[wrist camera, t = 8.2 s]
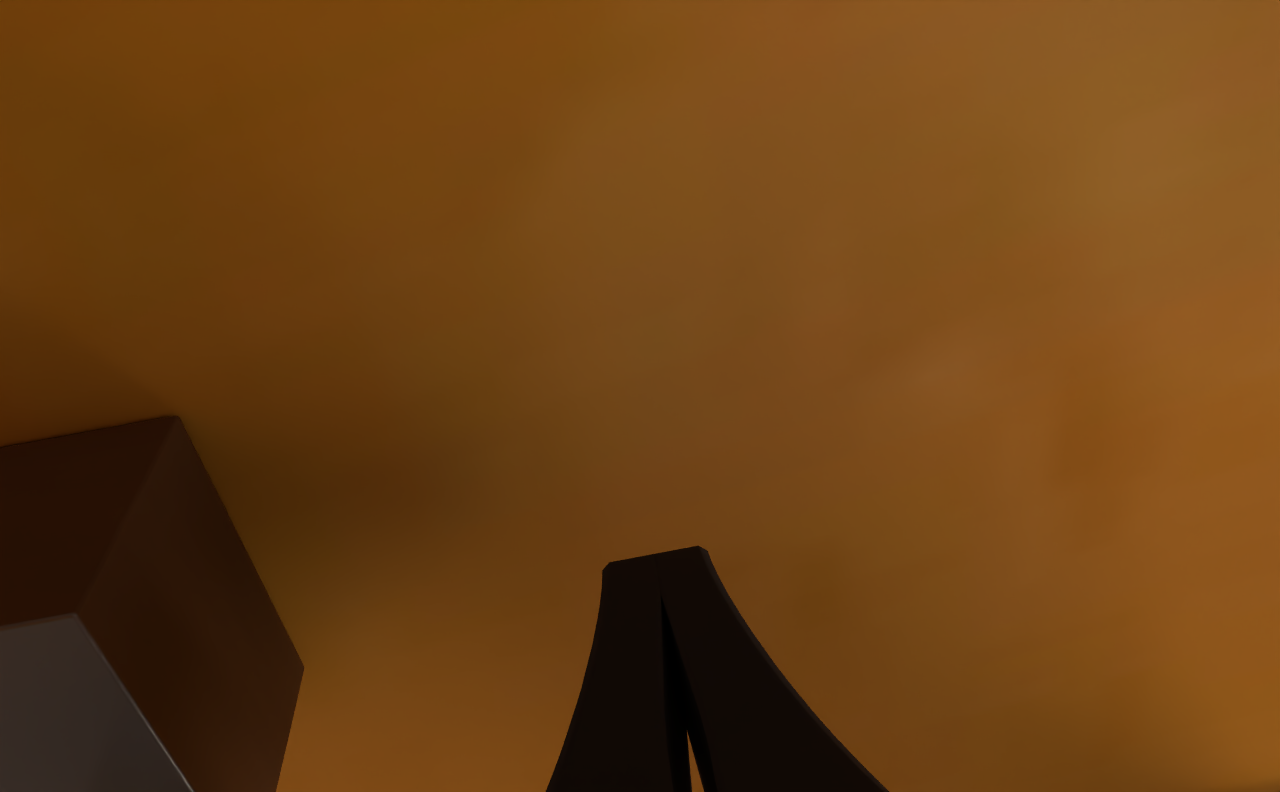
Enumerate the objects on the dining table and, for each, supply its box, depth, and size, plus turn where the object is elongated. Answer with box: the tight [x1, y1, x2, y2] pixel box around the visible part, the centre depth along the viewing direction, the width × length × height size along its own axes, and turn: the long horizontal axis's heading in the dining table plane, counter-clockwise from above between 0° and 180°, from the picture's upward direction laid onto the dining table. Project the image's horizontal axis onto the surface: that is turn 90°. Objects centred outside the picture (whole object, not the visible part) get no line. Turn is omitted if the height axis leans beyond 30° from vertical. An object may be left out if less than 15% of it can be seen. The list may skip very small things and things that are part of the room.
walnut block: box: [0, 416, 304, 792], centre depth 14 cm, size 6×6×4 cm
